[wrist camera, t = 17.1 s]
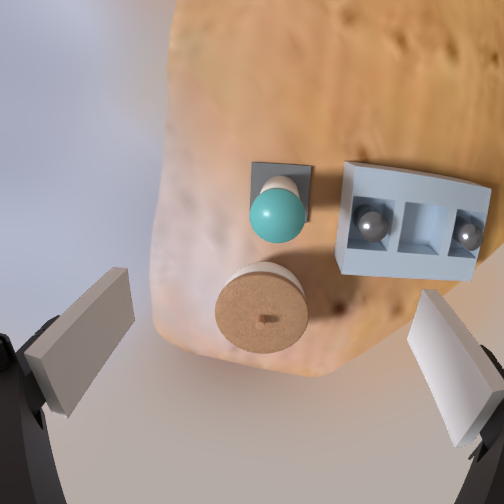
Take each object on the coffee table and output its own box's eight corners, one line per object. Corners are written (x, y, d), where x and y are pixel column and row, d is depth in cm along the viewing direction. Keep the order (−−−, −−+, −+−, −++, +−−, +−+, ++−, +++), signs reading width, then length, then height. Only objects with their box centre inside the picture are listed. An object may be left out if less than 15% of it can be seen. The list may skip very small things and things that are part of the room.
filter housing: (344, 160, 36) (355, 166, 30) (467, 180, 35) (491, 189, 29) (334, 254, 40) (341, 274, 35) (451, 263, 39) (470, 281, 33)
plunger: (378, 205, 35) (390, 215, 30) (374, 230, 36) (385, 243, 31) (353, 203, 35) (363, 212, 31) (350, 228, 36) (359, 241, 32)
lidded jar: (303, 320, 44) (306, 363, 36) (227, 318, 45) (215, 360, 37) (307, 249, 40) (313, 282, 32) (223, 248, 41) (207, 280, 33)
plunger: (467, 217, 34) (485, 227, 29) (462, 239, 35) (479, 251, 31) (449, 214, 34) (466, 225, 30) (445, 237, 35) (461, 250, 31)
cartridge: (261, 172, 37) (250, 187, 27) (301, 175, 37) (307, 191, 26) (259, 211, 39) (248, 241, 29) (298, 214, 38) (302, 245, 28)
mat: (311, 165, 37) (311, 166, 36) (306, 222, 39) (306, 223, 39) (252, 162, 37) (251, 162, 37) (249, 218, 40) (249, 219, 39)
